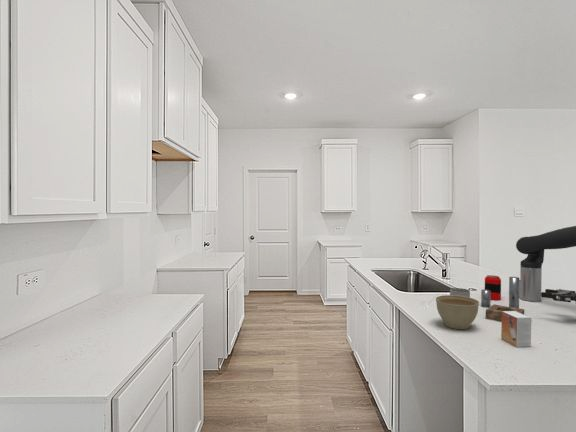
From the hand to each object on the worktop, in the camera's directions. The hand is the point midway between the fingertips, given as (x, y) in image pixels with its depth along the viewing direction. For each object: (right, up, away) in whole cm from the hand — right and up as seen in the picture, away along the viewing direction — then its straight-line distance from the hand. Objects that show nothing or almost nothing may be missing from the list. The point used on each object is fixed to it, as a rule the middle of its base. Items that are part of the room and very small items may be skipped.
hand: (543, 292), depth 158 cm
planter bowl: (-44, -12, -11) cm, 47 cm away
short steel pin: (-16, -10, +17) cm, 26 cm away
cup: (-33, -11, +10) cm, 36 cm away
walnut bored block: (-18, -11, -2) cm, 21 cm away
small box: (-31, -12, -30) cm, 45 cm away
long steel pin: (-8, -11, +8) cm, 16 cm away
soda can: (-4, -10, +32) cm, 33 cm away
